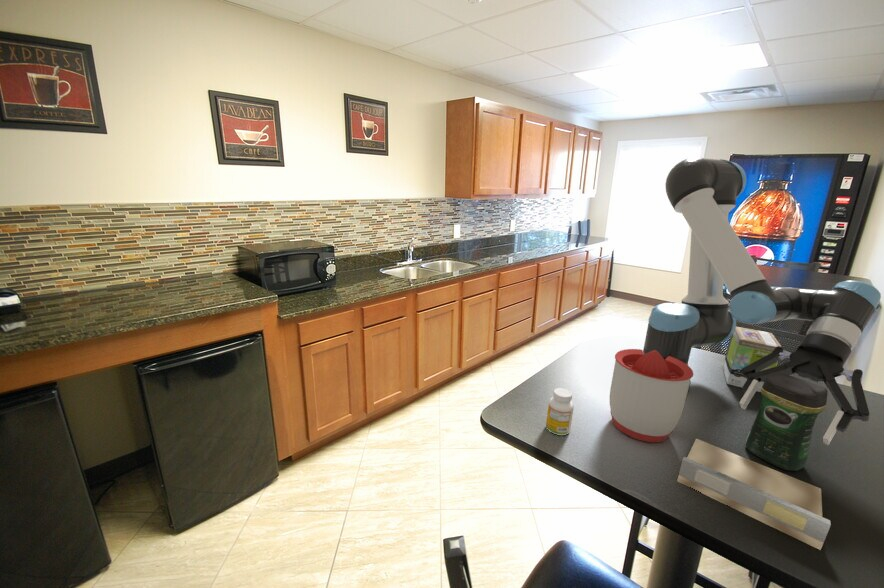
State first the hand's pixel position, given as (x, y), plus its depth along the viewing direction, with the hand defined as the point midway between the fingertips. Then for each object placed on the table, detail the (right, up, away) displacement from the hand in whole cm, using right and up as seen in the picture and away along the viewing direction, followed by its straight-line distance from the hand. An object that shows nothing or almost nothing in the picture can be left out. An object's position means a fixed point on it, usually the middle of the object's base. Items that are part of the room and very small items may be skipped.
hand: (780, 422), depth 77 cm
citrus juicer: (-23, -5, +12) cm, 26 cm away
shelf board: (-12, -11, -6) cm, 17 cm away
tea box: (+23, 0, +38) cm, 45 cm away
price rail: (-17, -10, -11) cm, 23 cm away
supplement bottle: (-43, -5, +10) cm, 44 cm away
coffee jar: (+2, -9, +4) cm, 10 cm away
